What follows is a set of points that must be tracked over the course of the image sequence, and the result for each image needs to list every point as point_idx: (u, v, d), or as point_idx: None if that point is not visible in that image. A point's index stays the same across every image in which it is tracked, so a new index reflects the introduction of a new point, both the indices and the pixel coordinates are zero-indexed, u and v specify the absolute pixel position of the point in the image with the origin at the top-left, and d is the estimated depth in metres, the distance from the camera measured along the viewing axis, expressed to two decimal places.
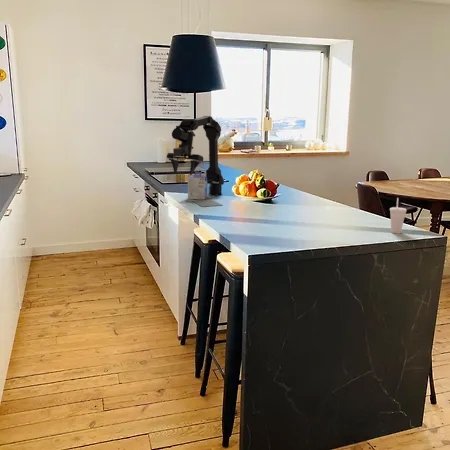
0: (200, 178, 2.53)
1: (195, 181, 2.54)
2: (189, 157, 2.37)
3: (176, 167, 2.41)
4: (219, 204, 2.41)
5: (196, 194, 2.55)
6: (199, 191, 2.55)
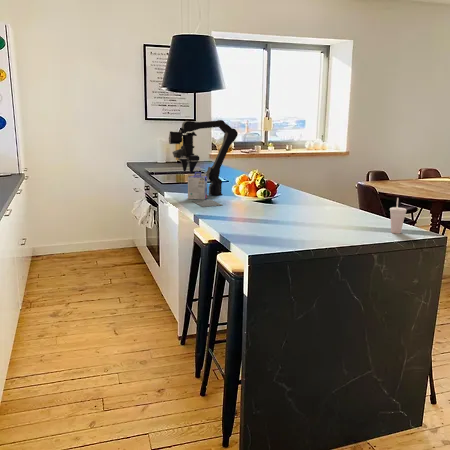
0: (200, 178, 2.53)
1: (195, 181, 2.54)
2: None
3: (185, 165, 2.68)
4: (219, 204, 2.41)
5: (196, 194, 2.55)
6: (199, 191, 2.55)
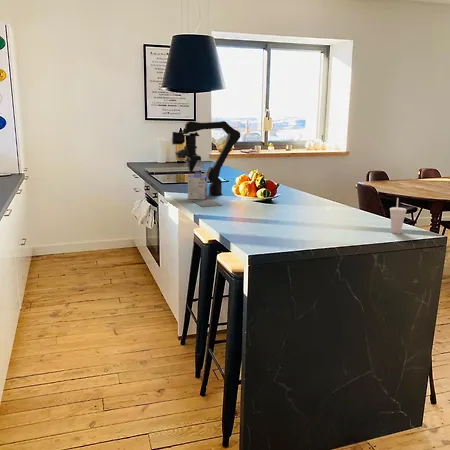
0: (200, 178, 2.53)
1: (195, 181, 2.54)
2: None
3: None
4: (219, 204, 2.41)
5: (196, 194, 2.55)
6: (199, 191, 2.55)
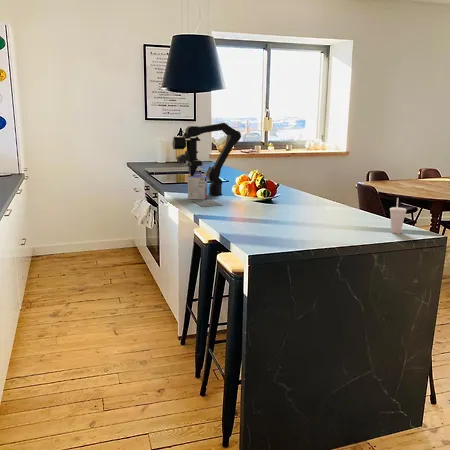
0: (200, 178, 2.53)
1: (195, 181, 2.54)
2: None
3: None
4: (219, 204, 2.41)
5: (196, 194, 2.55)
6: (199, 191, 2.55)
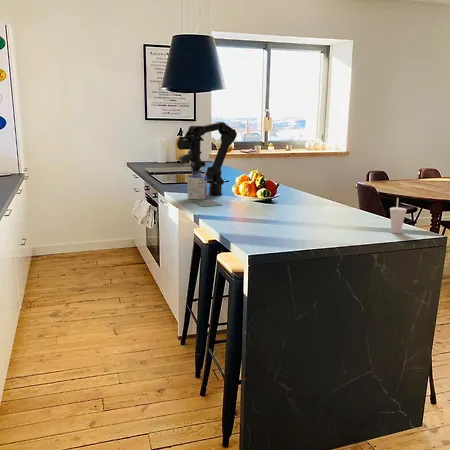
0: (200, 178, 2.52)
1: (195, 181, 2.53)
2: None
3: None
4: (219, 204, 2.41)
5: (196, 194, 2.55)
6: (199, 191, 2.54)
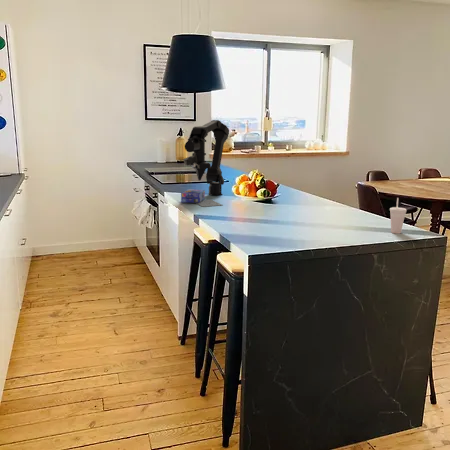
0: (194, 202, 2.44)
1: None
2: None
3: None
4: (219, 204, 2.41)
5: None
6: None
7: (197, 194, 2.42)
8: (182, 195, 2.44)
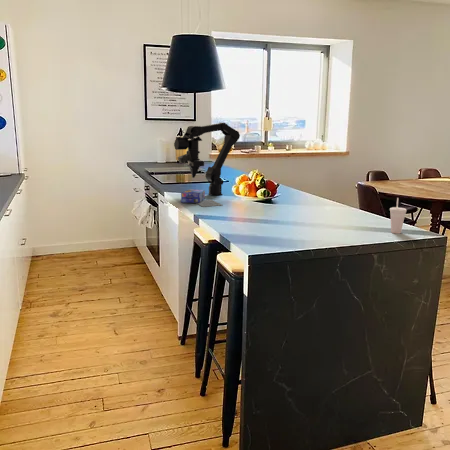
0: (194, 202, 2.44)
1: None
2: None
3: None
4: (219, 204, 2.41)
5: None
6: None
7: (197, 194, 2.42)
8: (182, 195, 2.44)
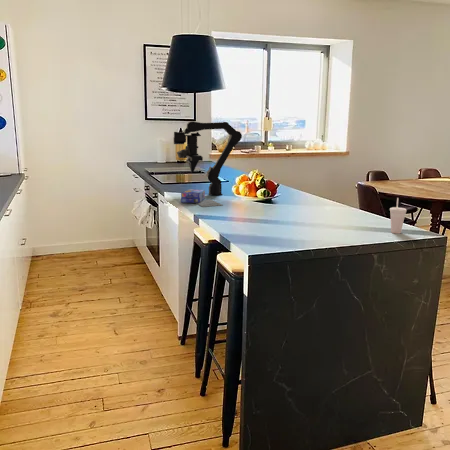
0: (194, 202, 2.44)
1: None
2: None
3: None
4: (219, 204, 2.41)
5: None
6: None
7: (197, 194, 2.42)
8: (182, 195, 2.44)
